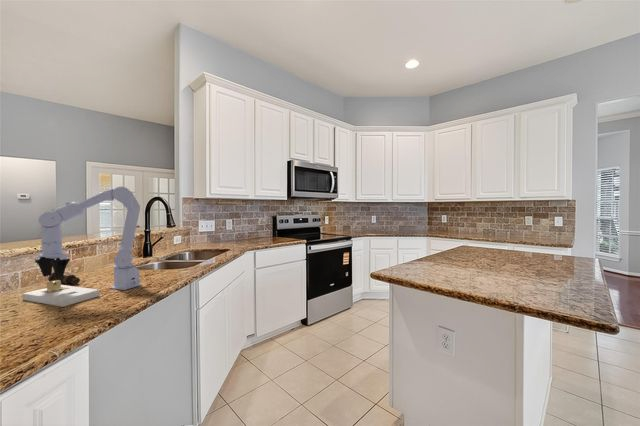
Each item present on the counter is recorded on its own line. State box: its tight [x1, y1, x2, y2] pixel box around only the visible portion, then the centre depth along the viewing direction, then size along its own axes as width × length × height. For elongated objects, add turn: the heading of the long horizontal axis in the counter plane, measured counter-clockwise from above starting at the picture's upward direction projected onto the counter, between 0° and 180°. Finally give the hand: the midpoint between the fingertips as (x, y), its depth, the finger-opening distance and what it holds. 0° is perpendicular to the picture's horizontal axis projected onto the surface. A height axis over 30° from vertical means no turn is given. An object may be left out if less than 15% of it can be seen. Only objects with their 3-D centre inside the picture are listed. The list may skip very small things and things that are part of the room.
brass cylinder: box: [46, 280, 62, 293], centre depth 107 cm, size 4×4×6 cm
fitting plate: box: [22, 284, 101, 307], centre depth 106 cm, size 24×12×3 cm, turn 71°
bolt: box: [47, 272, 81, 286], centre depth 126 cm, size 6×5×15 cm
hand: (53, 276), depth 107 cm, fingers open, 7 cm apart
